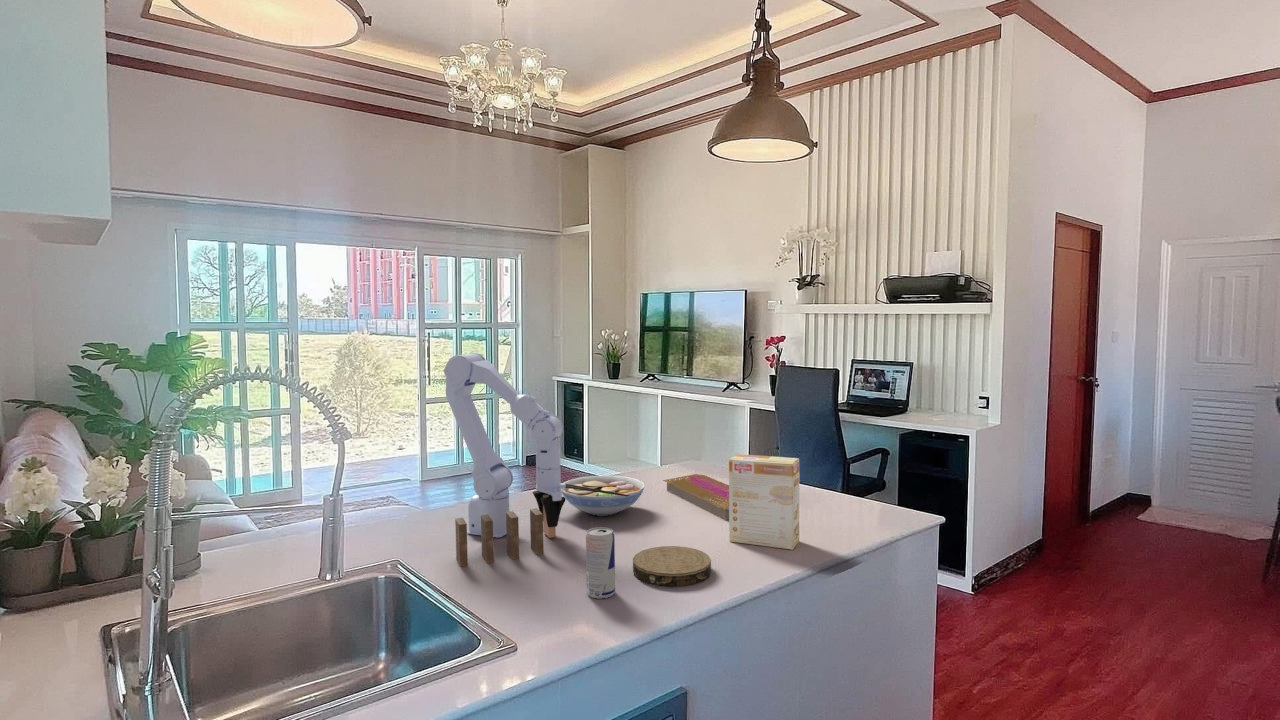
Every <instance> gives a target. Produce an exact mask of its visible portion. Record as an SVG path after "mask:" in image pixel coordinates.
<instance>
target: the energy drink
mask: <svg viewBox="0 0 1280 720" xmlns="http://www.w3.org/2000/svg"><path fill="white" fill-rule="evenodd" d="M615 540H616V539H615V533H614V530H613V529H612V528H609V527H603V526H602V527H601V526H599V527H593V528H590V529H588V530H587V531H586V535H585V552H586V553H585V556H586V557H585V558H586V560H585V563H586V570H585V571H586V594H587V596H588V597H590V598H591V599H595V598H597V599H598V600H603V599H602V598H605V599H608V597H609V598H611V597H613V596H614V595H615V593H616V560H615V557H616V554H615V551H616V550H615V549H616V548H615V546H616V545H615V544H616V543H615ZM612 595H613V596H612Z"/></svg>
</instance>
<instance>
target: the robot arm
mask: <svg viewBox="0 0 1280 720" xmlns="http://www.w3.org/2000/svg"><path fill="white" fill-rule="evenodd" d="M443 373H444V376H445V396H446V399H447V402H448V404H449V407H450V408H451V411H452V414H453V416H454V418H455V421H456V423H457V426H458V428H459V431H460V433H461V435H462V437H463V440H464V442H465V446H466V447H467V449H468V451H469V454H470V456H471V459H472V462H473V463H472V464H473V465H472V468H471V472H470V473H471V476H472V479H473V490H474V492H475V493H476V494H474V495H473V496H472V497H470V498H471V499H469V503H468V509H467V510H468V530H467V535H475V536H481V515H487V514H488V515H489V516H490V518H491V519H492V520H493V538H498V539H499V538H502V537H504V536H506V512H510V492H509V491H510V489H509V488H510V487H511V486H512V484H513V482H514V475H513V472H512V470H511V468H510V467H508V466H507V465H506V463H505V462H504V459H503V458H502V457H501V456H499V455H498V454H496V453H495V451H494V448H493V446H492V443H491V441H490V438H489V436H488V434H487V432H486V428H485V427H484V425H483V421H482V420H481V417H480V415H479V413H478V410H477V407H476V405H475V403H474V400H473V397H472V396H471V394H472V392H473V390H474V388H475V387H476V386H475V385H476V384H481V385H482V384H484V385H486V386H487V387H488V388H490V389H491V391H493V392H495V393H496V394H497V395H498V396H499V397H500V398H502V400H504V401H505V402H506V403H508V404H509V406H510V407H509V408H510V413H512V415H514V417H516V418H517V419H518V420H519V421H520V422H522V424H524V426H525V427H527V428H528V429H529V430H530V433H531V436H532V438H533V440H534V441H535V463H536V464H535V471H536V472H535V473H536V474H535V475H536V480H535V481H536V483H535V484H536V485H535V490H534V491H532V494H533V495H532V496H534V498H535V501H536V504H537V507H538V510H539V511H540V512H541V513H542V514H543V506H544V509H545V514H546V520H547V525H548V527H558V525H559V520H560V515H561V511H562V509H563V506H564V504H565V502H566V498H565V497H564V496H563V494H562V492H561V488H564V487H566V484H564V482H561V478H562V476H561V438H560V436H562V434H563V431H564V424H563V421H562V420H561V419H560V417H559V416H558V415H556V414H551V412H550V411H549V410H548V409H546V410H545V409H544V408H543V407H542V406H541V405H540V404H539V403H538V402H536V400H537V399H536V397H535V396H533V395H529V394H526V393H525V394H523V393H522V394H520V392H519V391H517V389H515V387H514V386H513V385H512V384H511V383H510V382H509V381H508V380H507V379H506V378H505V377H504V376H503V375H502V374H501V373H500V372H499V371H498V370H497V369H496V368H495V366H494V365H493V363H492V362H491V361H489V360H488V359H486V358H485V357H484V356H483V355H482V354H480V353H478V352H471V353H469V354H454V355H453V356H452V357H450V358H449V359H448V361H447V362H446V365H445V367H444V369H443ZM548 494H549V497H545V498H543V495H548Z"/></svg>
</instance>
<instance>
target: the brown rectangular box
mask: <svg viewBox="0 0 1280 720" xmlns="http://www.w3.org/2000/svg"><path fill="white" fill-rule="evenodd" d="M662 481H663V482H664V483H665V482H666V491H667V492H668V493H671V494H673V495H675V496H676V497H678V498H680V499H683V501H686V502H688V503H690V504H692V505H694V506H696V507H698V508H701V509H702V510H703V511H706V512H708V513H710V514H712V515H713V516H716V517H717V518H720V519H721V520H723V521H725V522H726V521H729V484H727V483H724V482H722V481H719V480H717V479H715V478H712V477H710V476H708V475H705V474H697V473H694V474H689V475H688V474H687V475H683V476H677V477H673V478H668V479H663V480H662Z"/></svg>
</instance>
